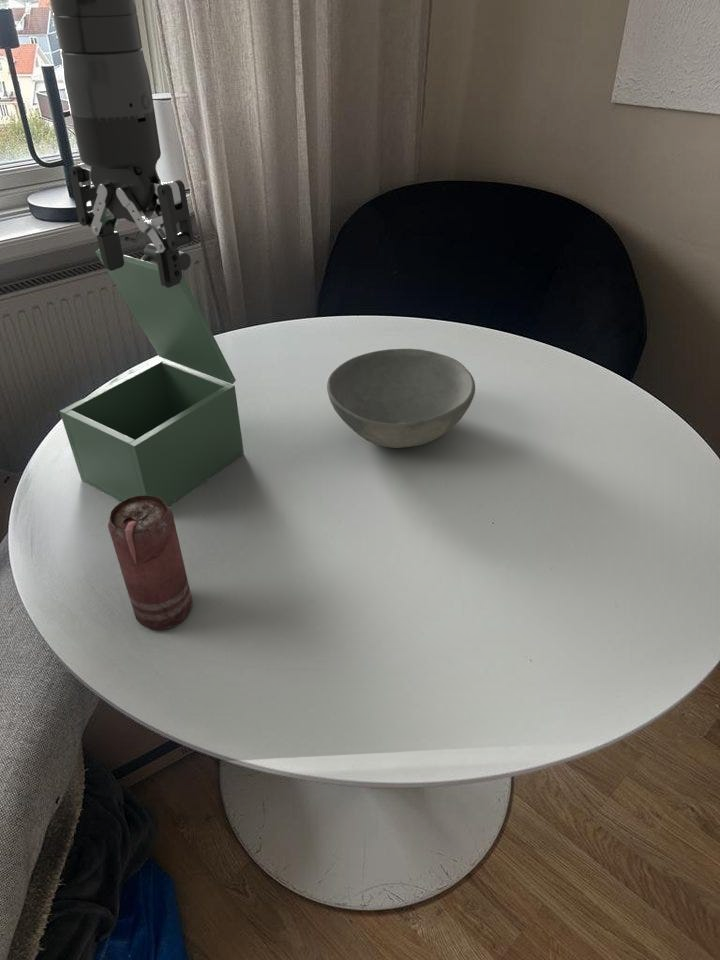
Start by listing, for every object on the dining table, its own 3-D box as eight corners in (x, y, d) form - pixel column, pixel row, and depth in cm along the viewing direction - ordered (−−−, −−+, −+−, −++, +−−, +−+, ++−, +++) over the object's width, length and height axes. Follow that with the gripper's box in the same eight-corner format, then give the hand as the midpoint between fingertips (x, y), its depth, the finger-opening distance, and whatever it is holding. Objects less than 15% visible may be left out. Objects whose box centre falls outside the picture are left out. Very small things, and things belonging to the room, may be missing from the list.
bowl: (483, 468, 96) (489, 418, 91) (330, 474, 95) (327, 424, 91) (458, 389, 113) (462, 344, 108) (327, 394, 112) (325, 349, 107)
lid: (176, 275, 78) (206, 245, 80) (94, 251, 85) (124, 224, 87) (232, 384, 92) (256, 356, 95) (159, 356, 99) (183, 331, 101)
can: (130, 636, 73) (99, 536, 65) (140, 592, 78) (112, 494, 70) (189, 632, 74) (166, 532, 65) (195, 588, 79) (174, 490, 70)
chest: (152, 518, 88) (134, 446, 82) (81, 480, 95) (59, 410, 88) (244, 453, 100) (234, 385, 93) (174, 423, 106) (161, 357, 99)
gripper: (28, 104, 66) (69, 273, 76) (135, 121, 60) (165, 303, 70) (92, 94, 71) (123, 253, 81) (197, 108, 65) (216, 279, 75)
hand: (142, 276), depth 75 cm, fingers open, 8 cm apart
